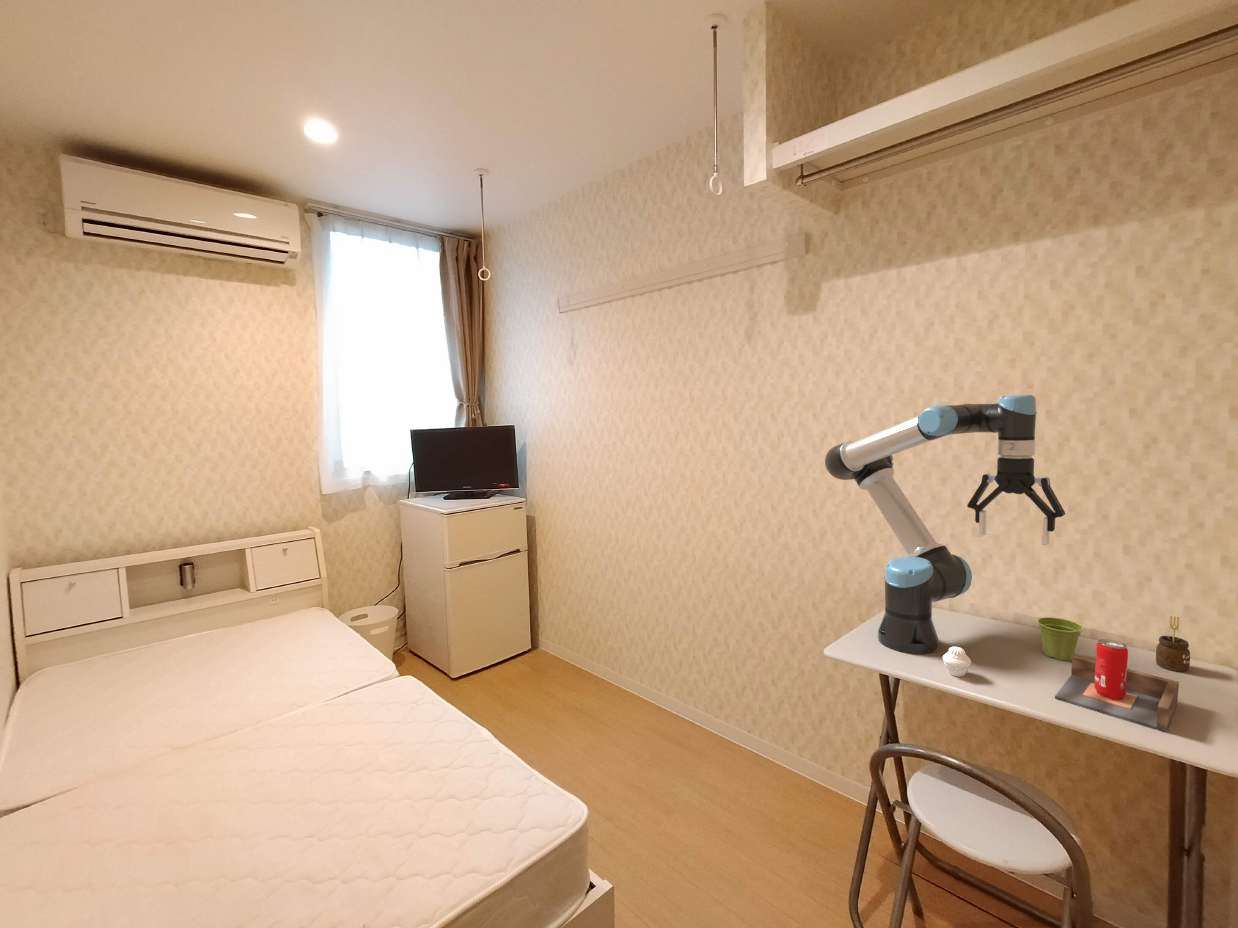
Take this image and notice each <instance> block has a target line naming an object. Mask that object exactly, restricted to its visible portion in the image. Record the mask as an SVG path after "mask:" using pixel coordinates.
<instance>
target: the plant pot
mask: <svg viewBox="0 0 1238 928" xmlns="http://www.w3.org/2000/svg"><path fill="white" fill-rule="evenodd" d="M1036 623H1037V625H1038V627H1039V629H1040V635H1041V641H1042V643H1041V644H1042V649H1043V654H1044V655H1046V656H1047V657H1048V658H1054V659H1055V660H1058V661H1065V662H1066V661H1072V657H1073V656H1074V655H1075V653H1076V648H1077V644H1078V639H1079V637H1080V636H1081V632H1083V631H1084V627H1083V625H1082V624H1081V623H1077V622H1076V621H1072V620H1069V619H1065V618H1060V617H1052V616H1051V617H1050V616H1047V617H1046V616H1044V617H1040V618H1038V619H1037V620H1036Z"/></svg>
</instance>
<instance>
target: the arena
mask: <svg viewBox="0 0 1238 928" xmlns="http://www.w3.org/2000/svg"><path fill="white" fill-rule="evenodd" d="M1095 667H1096V660H1093V659H1090V658H1087V657H1081V656H1079V655H1075V654H1074V656H1073V657H1072V659H1071V674H1070V676H1069V677H1068V679H1066V681H1065V683H1064V684H1063V685H1062V686H1061V687H1060V689H1059V690H1058V692H1057V693H1056V694H1055V696H1054V699H1056V700H1059V701H1061V702H1064V703H1069V704H1071V705H1075V706H1078V707H1081V708H1084V709H1085V708H1086V709H1088V710H1091V711H1095V712H1098V713H1100V714H1101V713H1102V714H1105V715H1108V716H1111V717H1114V718H1117V719H1121V720H1122V721H1123V720H1124V721H1127V722H1131V723H1133V724H1137V725H1140V726H1144V727H1146V726H1147V727H1146V728H1149V729H1153V730H1156V729H1158V730H1157V731H1159V730H1160V731H1159V732H1163V733H1166V734H1167V733H1168V730H1169V727H1170V725H1171V722H1172V719H1173V716H1174V714H1175V712H1176V709H1177V707H1178V701H1179V700H1178V699H1179V685H1180V681H1178V680H1177V681H1176V680H1174V679H1169V678H1164V677H1161V676H1157V675H1155V674H1154V675H1153V674H1148V673H1145V672H1141V671H1139V670H1138V671H1137V670H1133V669H1129V668H1127V677H1126V694H1125V696H1124V697H1123V699H1122V700H1112V699H1107V698H1104V697H1102V696H1100V695H1098V694H1097V691H1096V689H1095Z"/></svg>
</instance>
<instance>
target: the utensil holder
mask: <svg viewBox="0 0 1238 928" xmlns="http://www.w3.org/2000/svg"><path fill="white" fill-rule="evenodd" d="M1172 622H1173V623H1172ZM1179 625H1180V617H1179V616H1177V620H1176V616H1175V615H1174V616H1172V615H1170V616H1169V626H1168V627H1167V629H1166V630H1168V631H1170V629H1171V630H1172V635H1170V634H1167V635H1161V636H1159V639H1158V643H1157V644H1156V650H1155V663H1156V665H1157V666H1159V667H1160V668H1163V669H1165V670H1169V671H1172V672H1178V673H1179V672H1181V673H1185V672H1187V671H1189V669H1190V666H1191V652H1190V649H1189V647H1190V645H1189V644H1190V643H1189V642H1188V641H1187V640H1185V639H1183V638H1180V637H1179V635H1177V636H1175V635H1176V631H1177V632H1179V630H1180V629H1179Z"/></svg>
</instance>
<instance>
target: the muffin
mask: <svg viewBox="0 0 1238 928" xmlns="http://www.w3.org/2000/svg"><path fill="white" fill-rule="evenodd" d="M942 660H943V665H944V666H945V668H946V670H947V671H948V674H949V675H951V676H954V677H959V678H960V677H964V676H965V675H966V674H967V672H968V671H969V670H970V667H971V665H972V660H971V658H970V657H969V656H968V655H967V654H966V651H965V650H964V648H962V647H959V646H951V647H949V648H948V651H947V652H945V654H943V655H942Z"/></svg>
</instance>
